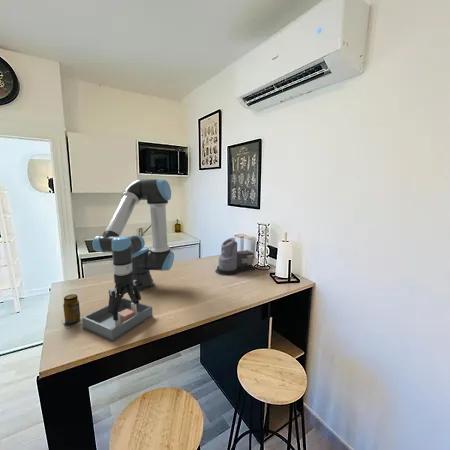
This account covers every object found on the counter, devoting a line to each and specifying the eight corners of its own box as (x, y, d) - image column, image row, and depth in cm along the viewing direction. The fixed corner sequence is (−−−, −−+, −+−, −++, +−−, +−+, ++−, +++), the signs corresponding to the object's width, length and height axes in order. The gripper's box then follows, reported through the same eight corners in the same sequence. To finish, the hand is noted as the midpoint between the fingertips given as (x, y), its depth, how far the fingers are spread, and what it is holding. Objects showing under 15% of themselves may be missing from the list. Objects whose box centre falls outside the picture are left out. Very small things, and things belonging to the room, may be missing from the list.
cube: (117, 324, 108) (117, 313, 107) (127, 318, 112) (126, 308, 112) (125, 327, 106) (124, 316, 105) (134, 321, 110) (134, 311, 109)
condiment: (79, 315, 117) (76, 291, 115) (85, 322, 111) (82, 297, 109) (61, 321, 112) (58, 296, 110) (66, 328, 106) (63, 303, 104)
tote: (82, 327, 107) (81, 317, 106) (124, 306, 126) (123, 297, 125) (112, 341, 98) (111, 330, 97) (152, 316, 116) (152, 306, 115)
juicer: (220, 277, 167) (221, 242, 163) (211, 269, 181) (211, 237, 177) (258, 270, 179) (259, 238, 175) (247, 264, 194) (247, 234, 190)
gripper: (107, 282, 94) (111, 336, 98) (147, 266, 112) (150, 312, 116) (95, 279, 98) (99, 331, 102) (136, 264, 116) (138, 309, 120)
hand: (126, 321), depth 109 cm, fingers open, 8 cm apart
